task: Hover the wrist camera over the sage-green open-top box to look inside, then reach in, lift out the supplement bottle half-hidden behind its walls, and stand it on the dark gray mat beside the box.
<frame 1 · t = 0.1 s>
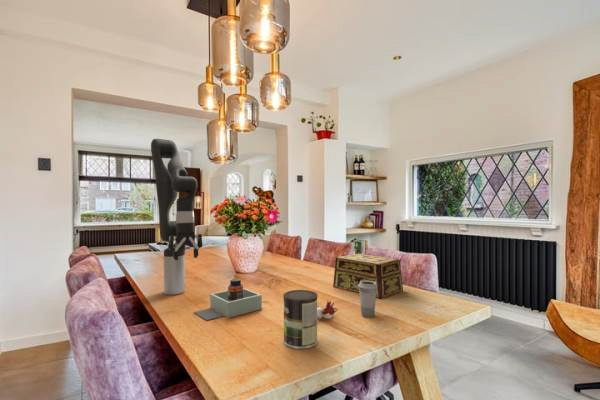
hand: (186, 258, 140), 17 cm above the table, tool pointing down, fingers open, 8 cm apart
coffee can: (300, 342, 96), on the table
cup: (367, 315, 118), on the table
figurine: (323, 318, 115), on the table
dark gray mat: (208, 314, 119), on the table
supplement bottle: (235, 309, 126), resting in sage box
sage box: (235, 308, 126), on the table
decorative box: (367, 289, 153), on the table
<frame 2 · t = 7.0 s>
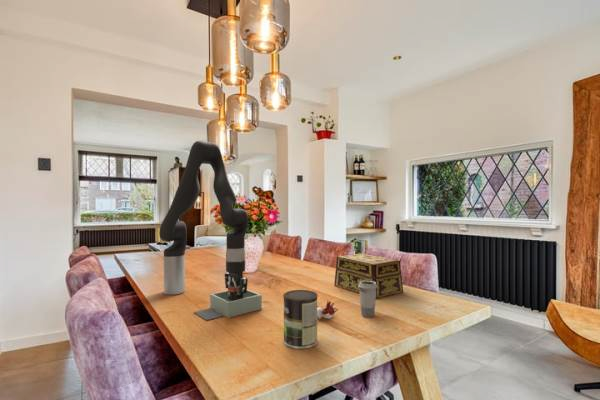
hand: (235, 301, 126), 3 cm above the table, tool pointing down, fingers closed on supplement bottle, 6 cm apart
supplement bottle: (235, 308, 126), resting in sage box, touching gripper
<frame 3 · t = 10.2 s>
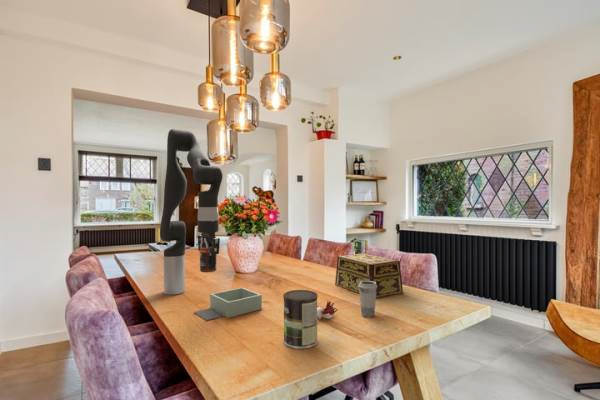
hand: (208, 264, 119), 19 cm above the table, tool pointing down, fingers closed on supplement bottle, 6 cm apart
supplement bottle: (208, 271, 119), point 16 cm above the table, touching gripper
when the fingers open (4 cm above the table, at t = 13.7 s): supplement bottle drops 1 cm, resting on dark gray mat.
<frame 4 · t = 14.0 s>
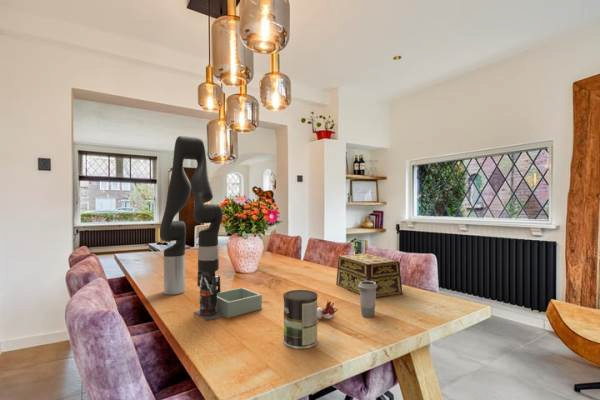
hand: (208, 301, 119), 5 cm above the table, tool pointing down, fingers open, 8 cm apart
supplement bottle: (208, 314, 119), resting on dark gray mat
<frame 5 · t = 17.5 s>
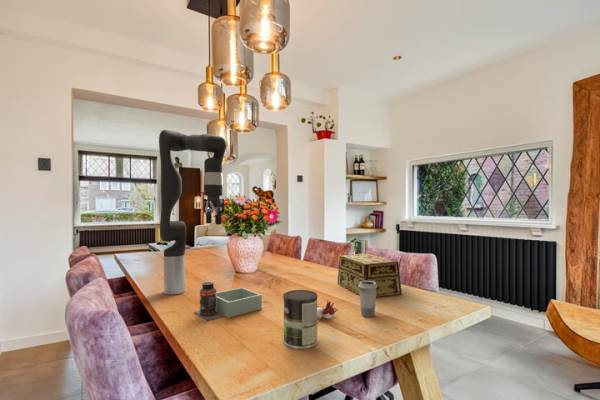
hand: (213, 223, 130), 33 cm above the table, tool pointing down, fingers open, 8 cm apart
at the end: supplement bottle 0.3 cm from the dark gray mat (horizontally); supplement bottle tilted 0°; the gripper is holding nothing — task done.
